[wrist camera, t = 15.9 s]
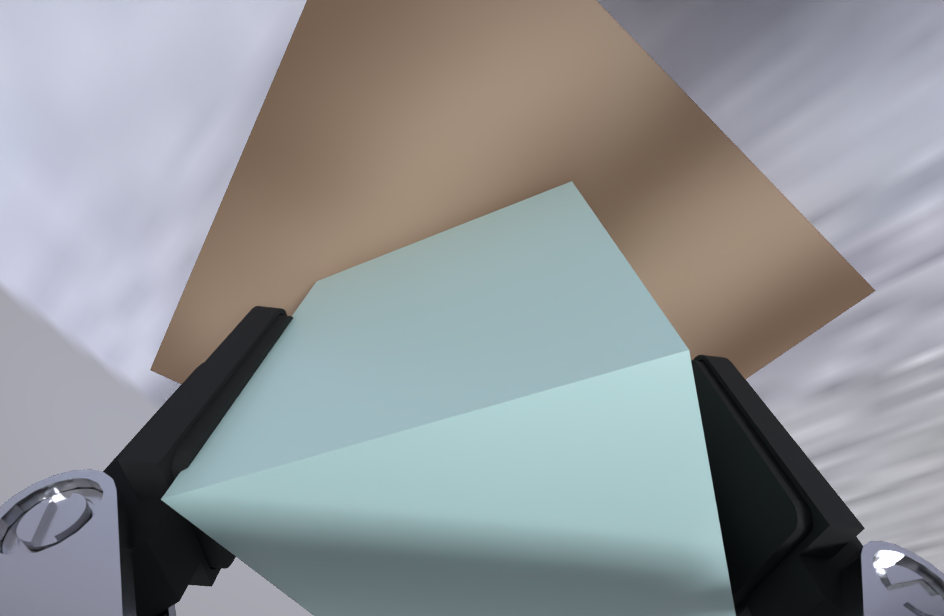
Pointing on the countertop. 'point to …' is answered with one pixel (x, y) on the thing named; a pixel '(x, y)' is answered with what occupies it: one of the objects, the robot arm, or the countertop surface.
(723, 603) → the pale blue cube
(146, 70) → the countertop surface
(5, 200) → the countertop surface
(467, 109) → the wooden peg base
